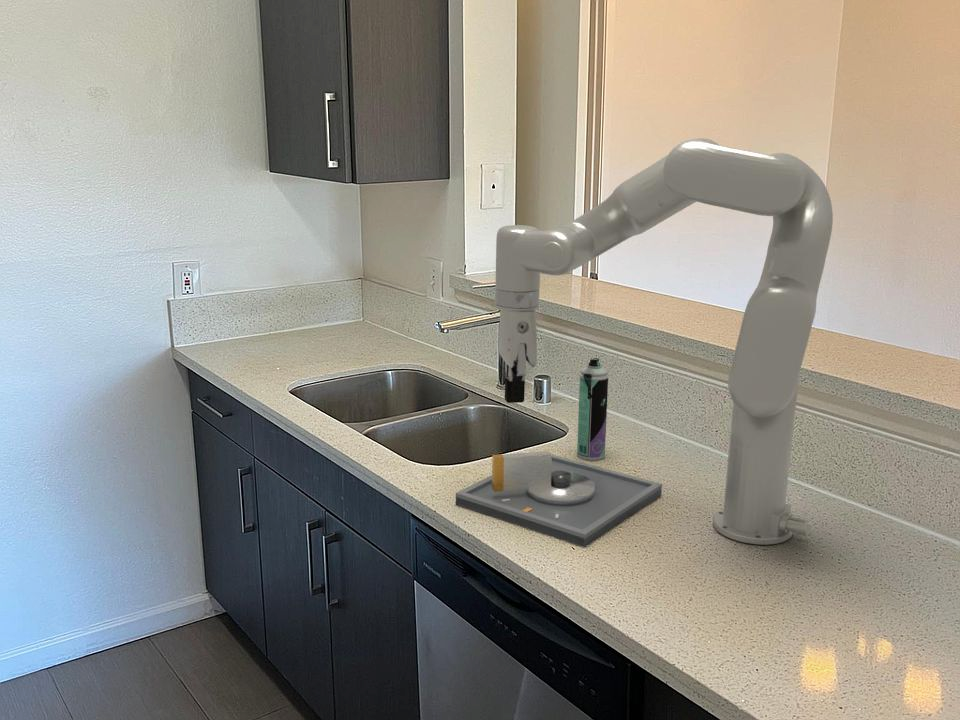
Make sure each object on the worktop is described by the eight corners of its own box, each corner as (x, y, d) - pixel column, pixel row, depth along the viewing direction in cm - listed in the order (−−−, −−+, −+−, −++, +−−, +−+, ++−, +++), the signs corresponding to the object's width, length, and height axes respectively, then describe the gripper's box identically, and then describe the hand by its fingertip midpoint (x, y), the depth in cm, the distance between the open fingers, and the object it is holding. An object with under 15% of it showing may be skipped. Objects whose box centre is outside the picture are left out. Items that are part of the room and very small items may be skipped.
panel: (661, 495, 163) (662, 483, 163) (584, 547, 144) (585, 534, 143) (540, 462, 179) (540, 451, 178) (455, 504, 159) (455, 492, 158)
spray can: (603, 462, 179) (608, 363, 174) (575, 459, 180) (579, 361, 175) (605, 452, 184) (610, 356, 179) (578, 450, 185) (581, 354, 180)
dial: (581, 476, 168) (583, 437, 166) (604, 502, 156) (606, 461, 154) (485, 483, 164) (485, 444, 162) (501, 511, 153) (501, 469, 151)
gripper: (549, 307, 150) (545, 413, 155) (528, 290, 164) (525, 388, 169) (504, 308, 149) (501, 415, 154) (487, 290, 163) (485, 389, 168)
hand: (514, 401), depth 161 cm, fingers closed
